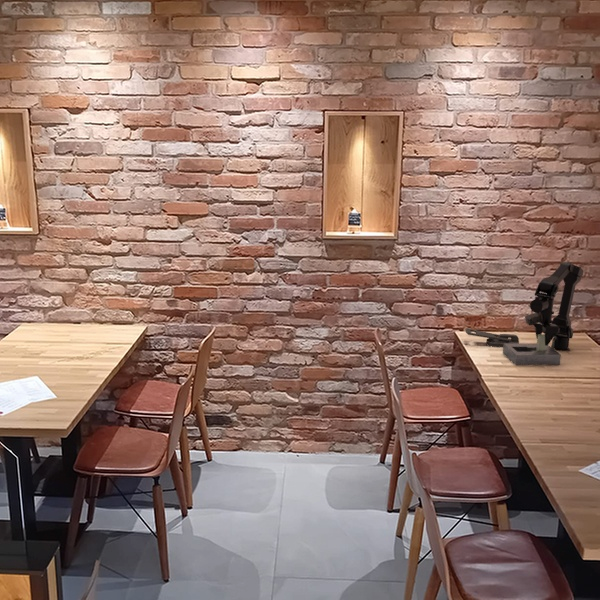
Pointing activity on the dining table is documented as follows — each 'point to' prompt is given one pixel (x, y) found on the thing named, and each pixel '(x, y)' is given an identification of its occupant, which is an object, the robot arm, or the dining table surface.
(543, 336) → the headed peg
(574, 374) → the dining table surface
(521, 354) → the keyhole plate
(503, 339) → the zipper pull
